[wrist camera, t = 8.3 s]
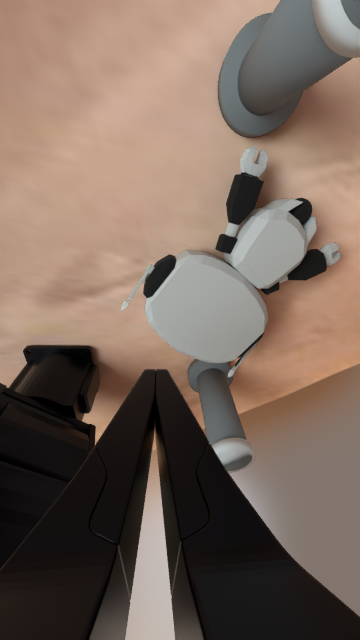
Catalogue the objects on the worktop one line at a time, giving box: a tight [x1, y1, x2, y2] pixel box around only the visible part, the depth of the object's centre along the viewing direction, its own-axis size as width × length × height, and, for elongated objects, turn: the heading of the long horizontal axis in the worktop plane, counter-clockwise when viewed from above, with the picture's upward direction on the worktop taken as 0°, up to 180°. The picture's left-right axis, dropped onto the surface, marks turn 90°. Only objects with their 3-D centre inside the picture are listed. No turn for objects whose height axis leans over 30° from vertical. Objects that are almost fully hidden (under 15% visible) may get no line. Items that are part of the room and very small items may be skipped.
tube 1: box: [188, 359, 255, 473], centre depth 22 cm, size 5×5×10 cm
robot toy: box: [121, 147, 341, 377], centre depth 19 cm, size 12×4×15 cm
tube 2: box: [218, 0, 360, 138], centre depth 10 cm, size 5×5×10 cm
